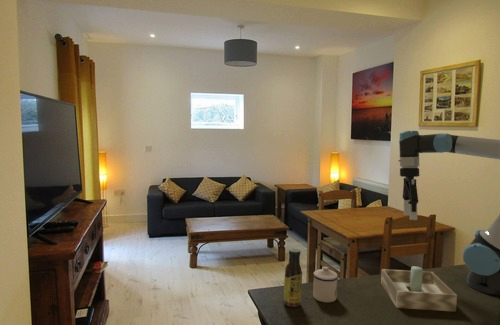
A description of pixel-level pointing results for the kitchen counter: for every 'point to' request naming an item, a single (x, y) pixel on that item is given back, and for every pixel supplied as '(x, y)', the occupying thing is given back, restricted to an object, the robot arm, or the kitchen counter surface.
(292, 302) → the sauce bottle
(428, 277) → the box
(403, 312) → the kitchen counter surface
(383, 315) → the kitchen counter surface
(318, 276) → the teacup with lid
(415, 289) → the peg
